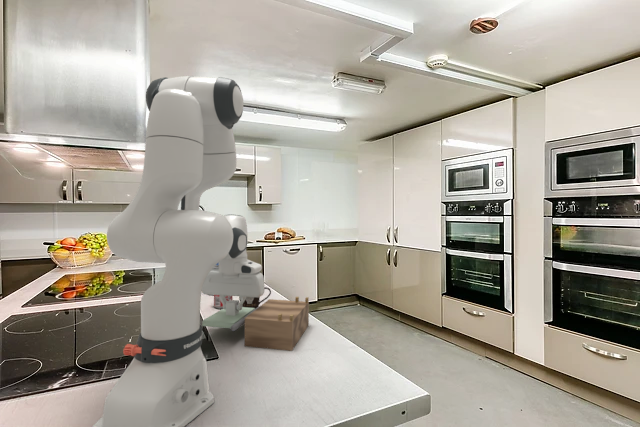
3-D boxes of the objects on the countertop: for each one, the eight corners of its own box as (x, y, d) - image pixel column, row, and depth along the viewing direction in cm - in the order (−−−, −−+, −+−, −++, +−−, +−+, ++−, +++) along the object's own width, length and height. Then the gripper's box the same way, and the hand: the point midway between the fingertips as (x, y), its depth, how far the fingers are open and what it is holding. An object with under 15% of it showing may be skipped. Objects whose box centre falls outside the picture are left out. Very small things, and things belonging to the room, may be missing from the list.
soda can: (227, 310, 127) (227, 276, 126) (210, 308, 128) (210, 275, 128) (235, 304, 134) (235, 272, 133) (219, 303, 135) (219, 271, 135)
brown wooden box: (291, 350, 91) (292, 316, 91) (244, 346, 94) (244, 312, 94) (308, 325, 111) (308, 297, 110) (269, 322, 113) (269, 294, 113)
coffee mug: (233, 313, 122) (233, 286, 122) (244, 306, 131) (244, 281, 131) (262, 316, 120) (262, 288, 119) (271, 309, 128) (272, 283, 128)
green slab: (235, 331, 93) (235, 311, 94) (198, 328, 96) (198, 308, 96) (261, 311, 113) (261, 295, 113) (230, 309, 115) (230, 293, 115)
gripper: (197, 266, 103) (197, 310, 103) (259, 268, 100) (258, 314, 99) (208, 263, 110) (207, 304, 110) (266, 265, 106) (266, 308, 106)
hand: (232, 309), depth 104 cm, fingers closed on green slab, 3 cm apart
